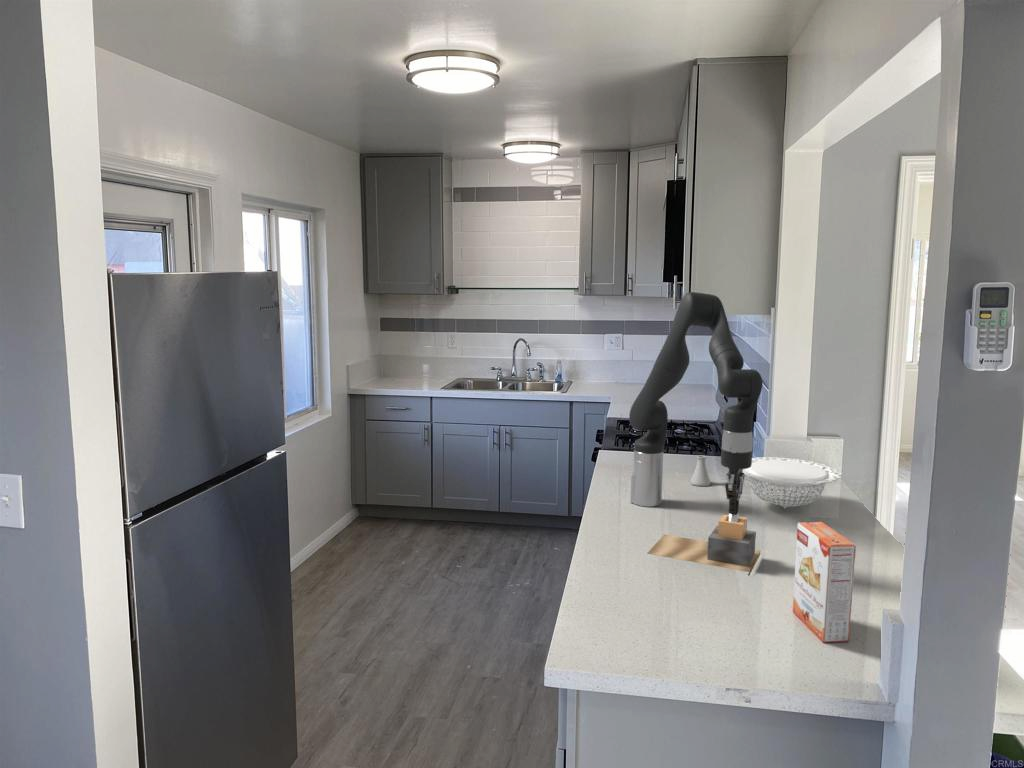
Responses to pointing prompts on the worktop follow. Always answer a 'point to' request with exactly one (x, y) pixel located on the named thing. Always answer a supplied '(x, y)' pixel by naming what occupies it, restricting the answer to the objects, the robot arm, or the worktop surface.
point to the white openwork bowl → (789, 479)
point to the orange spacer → (732, 528)
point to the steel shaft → (733, 518)
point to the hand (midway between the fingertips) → (733, 513)
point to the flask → (700, 473)
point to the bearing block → (711, 550)
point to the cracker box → (824, 581)
